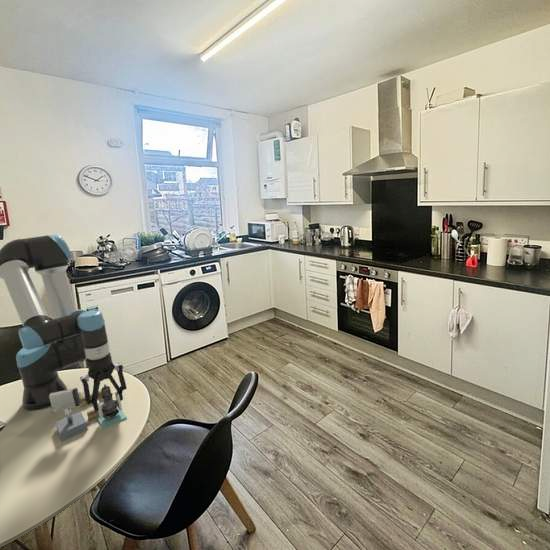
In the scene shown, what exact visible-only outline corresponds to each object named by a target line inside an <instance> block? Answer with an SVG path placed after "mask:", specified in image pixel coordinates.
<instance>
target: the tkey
mask: <svg viewBox="0 0 550 550" xmlns="http://www.w3.org/2000/svg"><path fill="white" fill-rule="evenodd" d="M49 398H50V402H51V406H50V407H51V409H52V412H58V411H63V410H64V414H65V416H66V417H65V418H67V422H72V421H73V416H72V415H73V413H72V409H73V408H77V407H80V406H81V401H80V392H79V391H78V387H75V388H71V389H67V390H64V391H59V392H54V393H50V395H49Z"/></svg>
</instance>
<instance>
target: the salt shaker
mask: <svg viewBox="0 0 550 550" xmlns="http://www.w3.org/2000/svg"><path fill="white" fill-rule="evenodd" d="M100 390H101V391H102V399H101V400H103V401H102V402H103V403H102V404H100V405H101V410H102V412H103V413H104V414H103V417H104V418H112V417H114V416H116V415H117V414H118V412H119V410H118V409H117V408H118V406H117V405H118V402H117V401H116V400H115V399H113V394H114V393H112V392H111V391H112V390H111V387H110V386H108V385H106V384H104V385H103V387H102V388H101V389H100Z"/></svg>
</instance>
